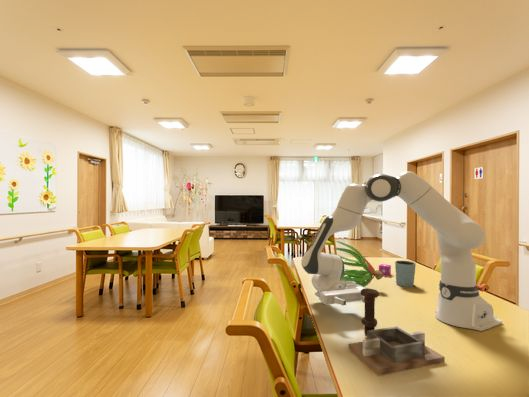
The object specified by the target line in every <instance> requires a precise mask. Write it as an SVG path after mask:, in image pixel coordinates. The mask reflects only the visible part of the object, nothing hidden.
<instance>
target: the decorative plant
mask: <svg viewBox="0 0 529 397" xmlns="http://www.w3.org/2000/svg"><path fill="white" fill-rule="evenodd" d="M332 242H333V245H334V246H336V244H335V242H336V243H338V244H341V245H343V246H345V247H347V248H345V247H335V248H334V250H336V251H340V252H343V254H345V255H347V254H348V255H349V256H352V257H353V258H355V259H356V260H355V259H350V258H348V257H345V256H342V255H339V254H338V253H333V252H331V254H334V255H338V256H340V257H341V258H342V260H344V261H343V263H344V266H348V267H358V268H360V267H361V268H363V269H360V270H359V269H348V268H344V273H343V276H342V278H341V280H343V281H354V282H356V284H357V285H361V286H363V287H365V288H366V286H368V285H369V284H370V283H372V281H373V280H374V279H376V280H381V279H382V278H384V275H383V273H382V272H381V271H380V270H379V269H376V270H375V268H374V267H373V265H372V264H371V263H370V262H369V261H368V260H367V259H366V257H364V256H363V254H362V253H361V252H360V251H359V250H358V249H356V248H355V247H353V246H351V245H349V244H347V243H346V242H345V243H344V242H341V241H339V240H332ZM348 261H349V262H348Z"/></svg>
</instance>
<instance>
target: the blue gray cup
mask: <svg viewBox="0 0 529 397" xmlns="http://www.w3.org/2000/svg"><path fill="white" fill-rule="evenodd" d="M394 264H395V265H394V267H395V268H394V269H395V283H396V285H397V286H401V287H406V288H407V287H408V288H411V287H412V288H413V287H414V284H415V274H416V267H417V266H416V262H413V261H410V260H396V261H394Z"/></svg>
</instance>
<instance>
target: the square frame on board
mask: <svg viewBox="0 0 529 397" xmlns="http://www.w3.org/2000/svg"><path fill="white" fill-rule="evenodd" d="M425 339H426V333H425V332H424V331H414V332H413V331H412V332H407V331H405V330H403V329H402V328H400V327H398V326H389V327H383V328H377V329H375V328H374V330H368V331H367V336H366V339H363V340H362V341H359V342H351V343H348V344H347V345H348V346H347V347H348V350H349V351H350V352H352V354H353V355H355V356H356V357H357V358H358V359H359V360H360V361H361V362H362V363H364V364H365V365H366V366H367V367H368V368H369V369H371V370H372V371H373V372H374V373H376V374H377V376H382V375H387V374H392V373H397V372H402V371H406V370H407V371H408V370H413V369H418V368H421V367H427V366H432V365H433V366H434V365H437V364H438V365H439V364H443V363H445V361H446V360H445V358H446V356H444V355H442V354H441V353H438V352H437V351H436V350H434V349H433V348H430V347H429V346H427V345H426V343H425V342H426V340H425Z"/></svg>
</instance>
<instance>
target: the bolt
mask: <svg viewBox="0 0 529 397" xmlns="http://www.w3.org/2000/svg"><path fill="white" fill-rule="evenodd" d="M365 288H366V287H365ZM379 294H380V292H379V291H378V290H377V289H374V288H368V287H367V288H366V289H362V290H361V295H363V296H364V300H365V303H364V316H363V317H362V318H361V324H362V325H363V326H364V335H365V336H366V337H367V331H368V330H375V327H377V325H378V320H377V319H376V318H375V313H376V312H375V307H376V306H375V303H376V298H378V297H379Z"/></svg>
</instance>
